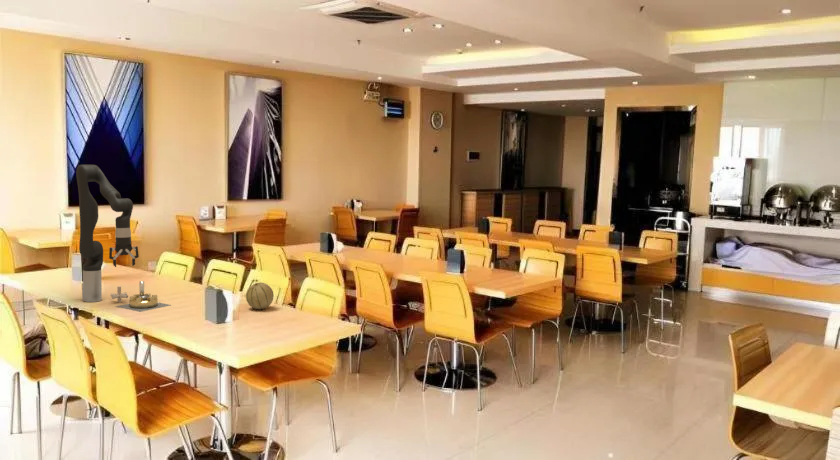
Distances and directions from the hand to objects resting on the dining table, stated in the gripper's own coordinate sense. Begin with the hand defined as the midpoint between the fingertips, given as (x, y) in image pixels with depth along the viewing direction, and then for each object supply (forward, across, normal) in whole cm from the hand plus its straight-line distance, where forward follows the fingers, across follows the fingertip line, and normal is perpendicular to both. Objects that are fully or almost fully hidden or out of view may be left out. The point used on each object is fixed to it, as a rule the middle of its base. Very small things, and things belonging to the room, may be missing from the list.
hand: (124, 266), depth 348 cm
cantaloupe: (+25, +66, -23) cm, 74 cm away
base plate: (+23, +8, -5) cm, 25 cm away
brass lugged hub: (+21, +8, -5) cm, 23 cm away
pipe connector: (+22, -3, +8) cm, 24 cm away
